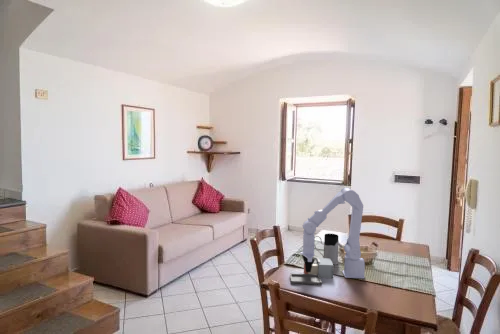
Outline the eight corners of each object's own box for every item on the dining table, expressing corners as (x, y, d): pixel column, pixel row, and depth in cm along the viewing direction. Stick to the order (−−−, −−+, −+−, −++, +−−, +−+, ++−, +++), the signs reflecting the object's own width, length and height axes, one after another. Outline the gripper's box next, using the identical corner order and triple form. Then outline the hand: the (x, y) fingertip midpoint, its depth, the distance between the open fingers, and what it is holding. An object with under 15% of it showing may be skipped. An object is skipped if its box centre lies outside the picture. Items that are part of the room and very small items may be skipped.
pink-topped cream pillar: (323, 272, 164) (323, 264, 163) (324, 274, 161) (324, 266, 161) (303, 272, 164) (303, 263, 164) (304, 274, 162) (304, 265, 161)
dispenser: (329, 270, 167) (330, 257, 166) (333, 277, 158) (333, 264, 157) (316, 270, 167) (316, 256, 166) (318, 277, 158) (319, 263, 157)
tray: (318, 277, 158) (319, 274, 158) (321, 285, 149) (321, 282, 149) (290, 276, 159) (290, 273, 159) (291, 284, 150) (291, 281, 150)
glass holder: (338, 265, 174) (339, 238, 172) (311, 262, 178) (312, 235, 177) (339, 259, 182) (340, 234, 181) (313, 256, 186) (314, 231, 185)
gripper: (299, 239, 169) (298, 264, 170) (301, 249, 155) (301, 276, 156) (313, 240, 169) (312, 265, 170) (316, 249, 154) (315, 276, 155)
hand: (307, 270), depth 163 cm, fingers closed on pink-topped cream pillar, 2 cm apart
